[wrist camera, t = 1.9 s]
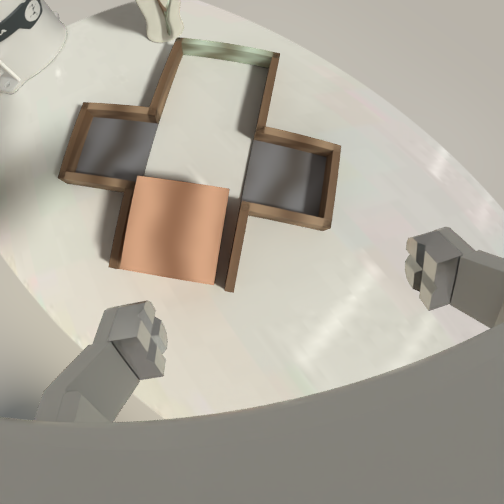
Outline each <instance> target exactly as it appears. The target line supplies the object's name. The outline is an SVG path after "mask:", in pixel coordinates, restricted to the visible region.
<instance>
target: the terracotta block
mask: <svg viewBox="0 0 504 504" xmlns="http://www.w3.org/2000/svg"><path fill="white" fill-rule="evenodd" d="M228 195H229V189H227V188H220V187H214V186H208V185H201V184H195V183H188V182H181V181H174V180H167V179H159V178H152V177H144V176H137V180H136V185H135V189H134V194H133V198H132V203H131V208H130V213H129V218H128V223H127V229H126V234H125V240H124V246H123V252H122V259H121V265H120V269H123V270H129V271H134V272H140V273H145V274H151V275H157V276H162V277H168V278H174V279H180V280H186V281H192V282H198V283H204V284H210V285H214V281H215V275H216V269H217V262H218V256H219V250H220V243H221V237H222V231H223V225H224V219H225V213H226V207H227V201H228Z"/></svg>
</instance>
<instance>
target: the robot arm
mask: <svg viewBox="0 0 504 504" xmlns="http://www.w3.org/2000/svg"><path fill="white" fill-rule="evenodd" d="M66 37H67V29H66V26H65V25H64V24H63V23H62V22H61V21H60V20H59V14H58V13H57V12H56V11H52V10H51V9H50V7H49V6H48V5H47V4H46V2H45V1H44V0H0V92H3V93H7V94H13V93H14V92H16V91H17V90H18V89H19V88H20V87H21V86H22V85H23V83H24V82H26V81H27V80H28V79H30V78H31V77H33V76H35V75H36V74H38V73H39V72H40V71H42V70H43V69H44V68H45V67H46V66H47V65H48V64H49V63H50V62H51V61H52V60H53V59H54V58H55V57H56V56H57V54H58V53H59V52H60V50H61V48H62V47H63V45H64V43H65V40H66ZM406 250H407V251H408V253H409V254H410V255H409V256H408V258H407V259H406V261H405V273H406V277H407V280H408V282H409V284H410V286H411V287H412V288H413V289H415V290H417V291H419V292H420V295H419V298H420V299H421V301H422V302H423V304H424V305H425V306H426V308H427V309H428V311H430V310H433V309H436V308H439V307H442V306H445V305H448V304H450V303H451V304H450V305H451V306H453V307H455V308H457V309H458V310H460V311H462V312H464V313H465V314H467V315H469V316H470V317H472V318H474V319H476V320H477V321H479V322H481V323H482V324H484V325H486V326H487V327H489V328H491V329H489V330H487V331H485V332H483V333H481V334H479V335H477V336H475V337H472V338H470V339H468V340H466V341H464V342H462V343H459V344H457V345H455V346H453V347H450V348H448V349H446V350H443V351H441V352H439V353H436V354H434V355H431V356H429V357H426V358H424V359H421V360H419V361H416V362H414V363H411V364H408V365H406V366H403V367H400V368H398V369H395V370H392V371H389V372H386V373H383V374H380V375H377V376H374V377H371V378H368V379H365V380H362V381H359V382H355V383H352V384H349V385H345V386H342V387H338V388H335V389H331V390H327V391H324V392H320V393H316V394H312V395H308V396H304V397H300V398H296V399H291V400H287V401H282V402H278V403H273V404H268V405H263V406H258V407H253V408H247V409H241V410H235V411H229V412H223V413H216V414H209V415H201V416H193V417H185V418H175V419H164V420H152V421H136V422H113V421H114V420H115V418H116V417H117V415H118V413H119V412H120V411H121V409H122V408H123V406H124V405H125V403H126V402H127V400H128V398H129V397H130V396H131V394H132V393H133V391H134V389H135V388H136V386H137V385H138V383H139V382H140V381H139V380H143V379H149V378H156V377H162V376H164V369H165V361H166V359H165V358H164V356H163V355H162V354H163V353H164V352H165V350H166V349H167V343H168V340H167V333H166V330H165V327H164V325H163V323H162V321H161V320H160V319H158V318H156V317H155V311H156V310H155V308H154V306H153V305H152V303H151V302H150V301H142V302H137V303H132V304H126V305H121V306H116V307H111V308H107V309H106V310H105V311H104V313H103V316H102V319H101V322H100V324H99V327H98V330H97V333H96V336H95V339H94V342H93V344H92V345H88V346H87V347H86V348H85V349H84V350H83V351H82V352H81V353H80V355H78V356H77V357H76V358H75V359H74V360H73V361H72V362H71V363H70V364H69V365H68V366H67V367H66V369H64V370H63V372H62V373H61V374H60V375H59V376H58V377H57V378H56V379H55V380H54V381H53V382H52V383H51V384H50V385H49V386H48V387H47V388H46V389H45V390H44V392H43V394H42V397H41V401H40V404H39V406H38V410H37V413H36V416H35V419H34V420H22V419H12V418H4V417H0V504H504V258H501V257H498V256H495V255H492V254H489V253H486V252H483V251H480V250H478V251H475V250H474V249H473V248H472V247H471V246H470V245H468V244H467V243H466V242H465V241H464V240H463V239H462V238H461V237H460V236H458V235H457V234H456V233H455V232H454V231H453V230H452V229H451V228H449V227H443V228H440V229H437V230H434V231H432V232H428V233H425V234H421V235H418V236H414V237H410V238H408V240H407V244H406Z"/></svg>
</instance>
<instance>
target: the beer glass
mask: <svg viewBox="0 0 504 504" xmlns="http://www.w3.org/2000/svg"><path fill="white" fill-rule="evenodd" d="M135 1H136V3H137V5H138V7H139V9H140V11H141V12H142V14H143V16H144V18H145V20H146V35H147V37H148V38H149V39H150V40H151V41H153V42H157V43H165V42H169V41H172V40H174V39H176V38H177V37H179V36H180V35H181V34H182V32H183V30H184V24H183V22H182V19H181V17H180V5H181V0H135Z"/></svg>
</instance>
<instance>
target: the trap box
mask: <svg viewBox="0 0 504 504" xmlns="http://www.w3.org/2000/svg"><path fill="white" fill-rule="evenodd" d="M183 55H192V56H200V57H208V58H215V59H221V60H228V61H234V62H239V63H245V64H250V65H255V66H260V67H265V68H269V70H268V75H267V79H266V84H265V88H264V93H263V98H262V102H261V107H260V112H259V116H258V121H257V126H256V131H255V135H254V140H253V145H252V150H251V155H250V160H249V165H248V169H247V174H246V179H245V184H244V189H243V194H242V199H241V204H240V209H239V215H238V220H237V225H236V230H235V235H234V240H233V246H232V251H231V256H230V261H229V267H228V272H227V277H226V283H225V288H224V290H225V291H227V292H233V293H234V287H235V282H236V276H237V271H238V266H239V260H240V255H241V250H242V245H243V239H244V234H245V229H246V223H247V218H248V215H249V216H254V217H259V218H264V219H269V220H274V221H278V222H283V223H288V224H293V225H297V226H302V227H307V228H311V229H316V230H320V231H324V230H327V229H330V228H331V222H332V215H333V208H334V201H335V193H336V186H337V178H338V169H339V161H340V152H341V146H340V145H337V144H333V143H330V142H326V141H323V140H319V139H315V138H311V137H308V136H304V135H300V134H296V133H292V132H288V131H283V130H279V129H275V128H270V127H266V121H267V116H268V111H269V106H270V101H271V96H272V91H273V86H274V81H275V76H276V71H277V67H278V62H279V57H280V53H275V52H271V51H266V50H261V49H256V48H251V47H246V46H240V45H234V44H228V43H221V42H214V41H207V40H198V39H189V38H178V37H177V38H176V40H175V43H174V45H173V47H172V50H171V52H170V55H169V57H168V59H167V62H166V64H165V67H164V69H163V72H162V74H161V77H160V80H159V82H158V85H157V88H156V90H155V93H154V96H153V99H152V102H151V104H150V107H141V106H131V105H119V104H105V103H86V102H83V105H82V107H81V110H80V112H79V115H78V118H77V120H76V123H75V126H74V129H73V131H72V134H71V137H70V140H69V143H68V146H67V149H66V152H65V155H64V159H63V162H62V165H61V168H60V172H59V175H58V178H59V179H60V180H62V181H64V182H65V183H67V184H73V185H80V186H87V187H93V188H99V189H106V190H112V191H118V192H124V195H123V199H122V204H121V208H120V212H119V217H118V221H117V226H116V230H115V235H114V240H113V245H112V251H111V256H110V261H109V267H110V268H115V269H120V265H121V259H122V252H123V246H124V240H125V234H126V229H127V223H128V218H129V213H130V208H131V203H132V198H133V194H134V189H135V185H136V180H137V176H144V172H145V169H146V165H147V161H148V158H149V154H150V151H151V147H152V144H153V140H154V137H155V134H156V130H157V127H158V124H159V121H160V118H161V115H162V112H163V108H164V105H165V102H166V100H167V97H168V94H169V91H170V88H171V85H172V82H173V80H174V77H175V74H176V71H177V69H178V66H179V64H180V61H181V58H182V56H183Z"/></svg>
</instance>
